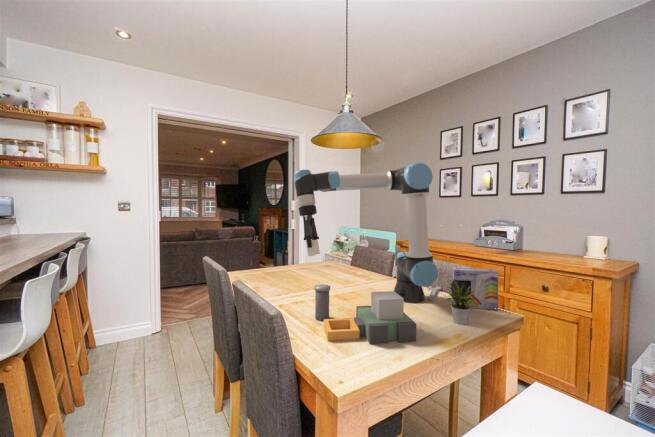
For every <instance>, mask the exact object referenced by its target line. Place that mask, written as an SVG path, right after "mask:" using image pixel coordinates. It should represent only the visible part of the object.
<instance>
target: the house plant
mask: <svg viewBox="0 0 655 437" xmlns="http://www.w3.org/2000/svg"><path fill="white" fill-rule="evenodd" d="M447 283H448V284H449V285H450V286H448V288H447V285H446V284H445V285H444V286H445V287H444V288H445V289H447V290H448V291H449V292H450V293H449V294H448V296H450V297H448V296H446V295H445V297H447V298H446V300H445V302H448V301H451V302H452V303H451V304H450V308H451V315H452V316H451V317H452V322H453V323H454V324H457V325H460V326H462V325H463V326H465V325H468V323H469V318H470V314H471V313H470V312H471V309H472V308H470V307H469V306H467V305H468V304H469V303H471V302H473V301H471V302H469V303H468V301H469V300H471V299H474V298H467V297H468V296H469V295H470V294H471V293H472V292H474V291H475V290H476V289H475V290H473V291H472V292H470V293H469V288H470V286H469V288H468V289H467V291H466V293H464V294H463V296H462V299H461V292H462V288H463V287H462V288H461V289H460V288H459V286H458V285H457V283H456V282H455V284H456V290H454V288H453V286H452V285H451V283H450V282H449V281H447ZM451 287H452V289H453V290H452V289H451ZM477 289H479V288H477ZM451 290H452V291H453V293H454V294H452V291H451ZM468 293H469V294H468ZM454 295H455V296H456V297H455V296H454ZM467 295H468V296H467ZM453 299H454V301H455V302H456V304H455V303H454V302H453ZM453 303H454V304H453Z"/></svg>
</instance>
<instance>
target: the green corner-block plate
mask: <svg viewBox="0 0 655 437" xmlns="http://www.w3.org/2000/svg"><path fill="white" fill-rule="evenodd" d="M370 294H371V296H370V300H371V301H370V305H359V306H358V305H356V308H355V311H356V313H355V315H356V316H354V317H347V318H346V317H344V318H341V317H340V318H329V319H324V321H323V330H324V334H325V337H326V339H327V342H334V341H335V342H336V341H350V340H360V337H365V338H366V340H367V342H368V343H369V345H376V344H377V345H380V344H388V341H396V340H397V341H398V343H410V342H411V343H412V342H417V323H416V322H415V321H414V320H413V319H412V318H410V316H408V315H407V314H406V313H405V311H404V303H405V302H404V299H403V298H402V297H401V296H400V295H398V294H397V293H396V292H395V291H394V290H391V291H390V290H389V291H371V292H370Z"/></svg>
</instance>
